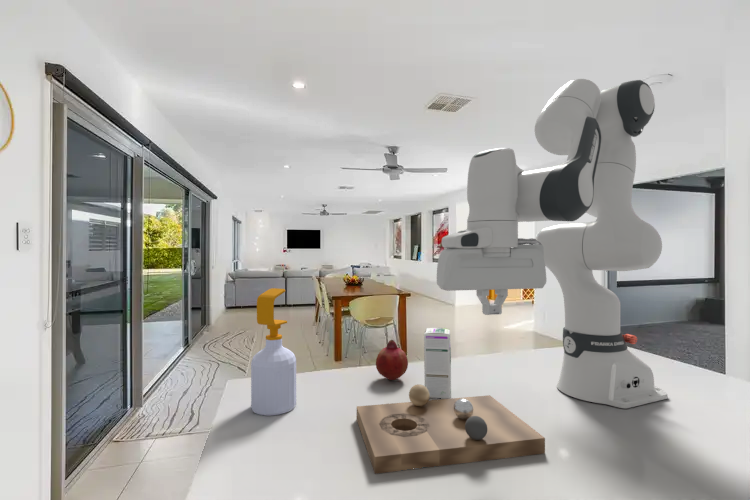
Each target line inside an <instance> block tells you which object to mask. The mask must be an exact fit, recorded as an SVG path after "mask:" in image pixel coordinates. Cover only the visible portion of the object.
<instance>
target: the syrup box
mask: <svg viewBox="0 0 750 500" xmlns="http://www.w3.org/2000/svg"><path fill="white" fill-rule="evenodd" d="M423 342H424V344H423V345H424V347H423V351H424V353H423V355H424V358H423V359H424V360H423V362H424V365H423V367H424V386H425V387H426V388H427V389H428V391H429V394H430V398H429V399H437V398H441V399H451V398H452V397H451V395H452V354H451V353H452V352H451V350H452V349H451V329H450V328H446V327H444V328H443V327H426V329H425V331H424V333H423Z"/></svg>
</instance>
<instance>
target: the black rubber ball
mask: <svg viewBox="0 0 750 500" xmlns="http://www.w3.org/2000/svg"><path fill="white" fill-rule="evenodd" d="M465 430H466V433H467V434H468V436H469V437H470V438H472V439H474V440H480V439H483V438H484V437H485V436H486V434H487V424H486V422H485V421H484V420H483V419H482V418H481V417H478V416H472V417H470V418H468V419H467V421H466V423H465Z"/></svg>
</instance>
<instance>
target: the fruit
mask: <svg viewBox="0 0 750 500" xmlns="http://www.w3.org/2000/svg"><path fill="white" fill-rule="evenodd" d="M375 367H376V370H377V372H378V374H379V375H381V376H382V377H383V378H385V379H387V380H390V381H396V380H398V379H400V378H401V377H402V376H403V375H405V373H406V372H407V370H408V367H409V360H408V357H407V354H406V352H405V351H404V350H402V349H401V348H400V347H398V345H397V343H396V342H395V340H394V339H391V340H388V342H387V345H386V346H385V347H383V348H382V349H381V350H379V352H378V354H377V356H376V359H375Z"/></svg>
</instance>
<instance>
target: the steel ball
mask: <svg viewBox="0 0 750 500" xmlns="http://www.w3.org/2000/svg"><path fill="white" fill-rule="evenodd" d="M453 409H454V413H455V415H456V416H457V417H458V418H460V419H462V420H466V419H468V418H470V417H471V416H472V415H473V405H472V404H471V402H470V401H468V400H467V399H459V400H457V401H456V402H455V404H454V408H453Z"/></svg>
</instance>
